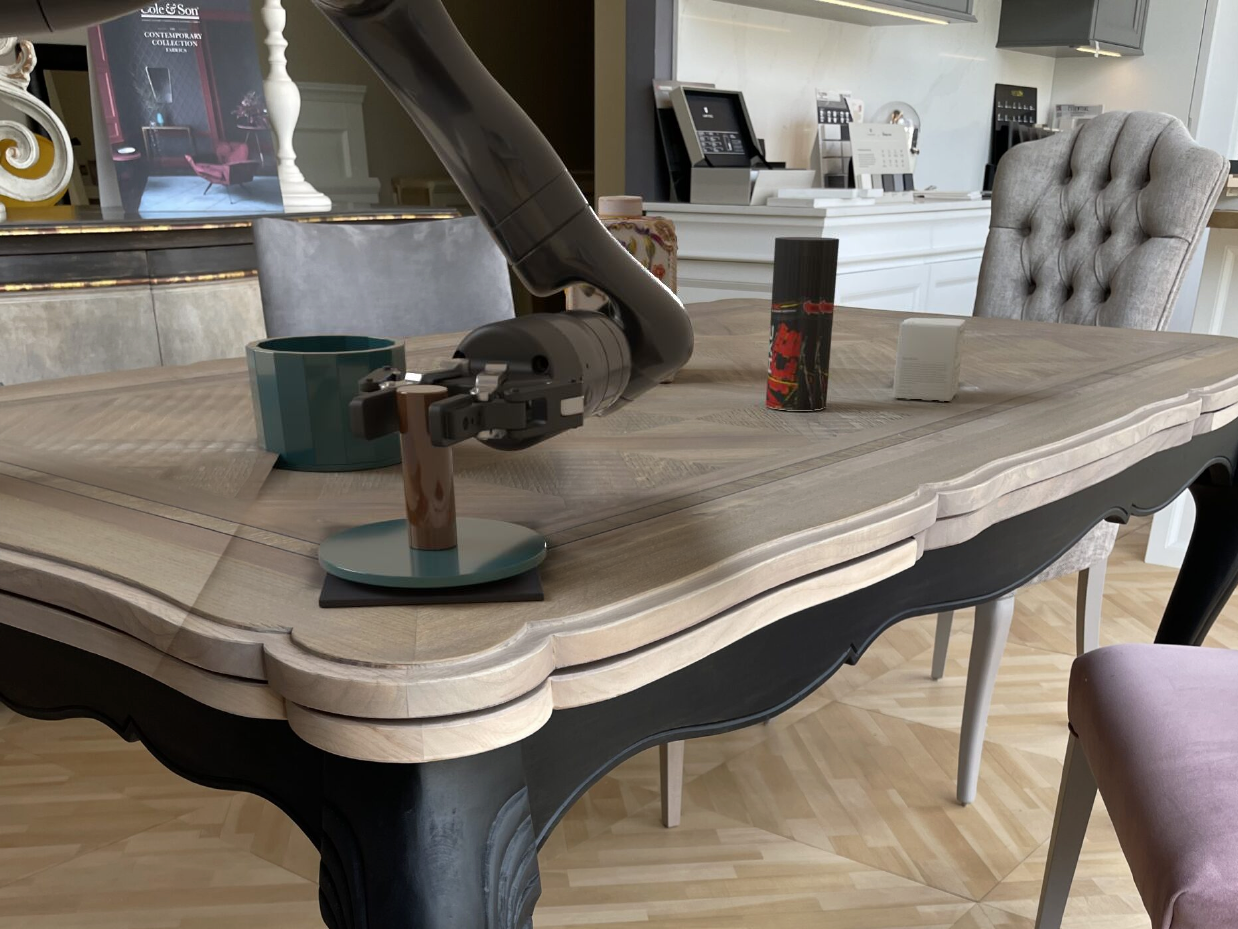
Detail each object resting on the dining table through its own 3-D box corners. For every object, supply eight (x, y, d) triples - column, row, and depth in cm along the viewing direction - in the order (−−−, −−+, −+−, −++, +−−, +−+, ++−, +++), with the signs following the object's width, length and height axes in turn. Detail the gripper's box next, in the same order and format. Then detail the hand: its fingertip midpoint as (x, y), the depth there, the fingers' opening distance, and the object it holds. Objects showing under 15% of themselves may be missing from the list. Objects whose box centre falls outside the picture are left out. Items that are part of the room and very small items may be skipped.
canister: (251, 473, 95) (235, 354, 91) (271, 442, 105) (257, 335, 101) (411, 470, 96) (402, 353, 92) (414, 440, 107) (406, 333, 103)
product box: (951, 403, 126) (960, 325, 123) (890, 399, 128) (898, 322, 124) (957, 394, 131) (967, 319, 128) (899, 390, 133) (907, 316, 130)
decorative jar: (666, 368, 146) (669, 195, 138) (676, 383, 136) (681, 198, 127) (564, 368, 145) (561, 194, 137) (567, 384, 135) (564, 197, 127)
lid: (273, 583, 69) (248, 399, 64) (393, 527, 80) (379, 366, 75) (485, 610, 65) (474, 416, 60) (581, 548, 76) (578, 379, 71)
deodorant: (837, 409, 122) (851, 240, 115) (784, 413, 120) (795, 240, 113) (806, 400, 127) (817, 236, 120) (754, 404, 125) (763, 237, 118)
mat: (319, 607, 66) (318, 600, 66) (336, 547, 77) (335, 541, 77) (543, 600, 68) (543, 593, 68) (531, 542, 78) (530, 536, 78)
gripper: (429, 311, 80) (272, 340, 66) (636, 321, 76) (515, 355, 62) (437, 431, 84) (290, 484, 70) (635, 448, 80) (521, 507, 66)
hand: (397, 423), depth 66 cm, fingers open, 4 cm apart
